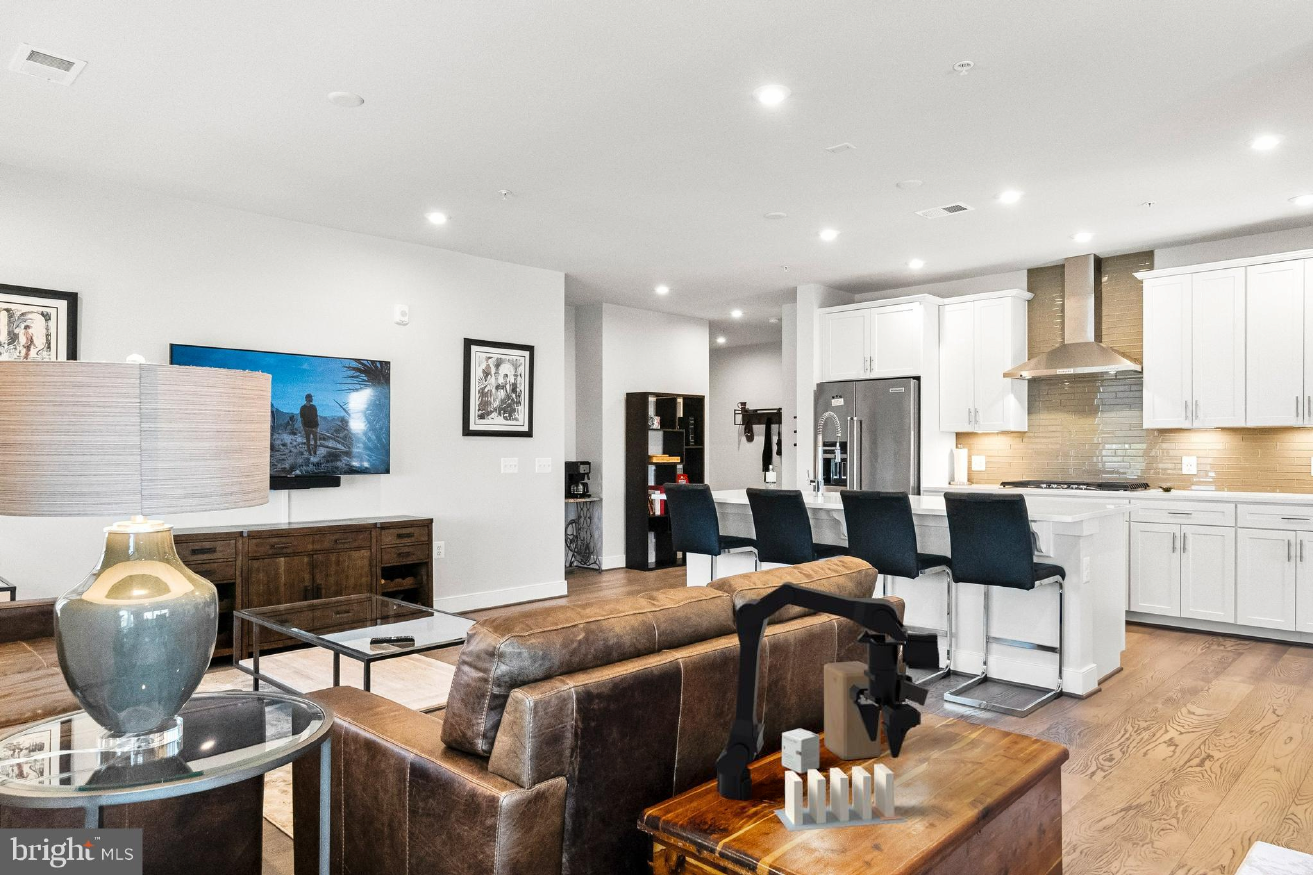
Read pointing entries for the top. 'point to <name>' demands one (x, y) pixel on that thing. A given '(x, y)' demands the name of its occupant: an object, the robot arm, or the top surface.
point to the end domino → (884, 790)
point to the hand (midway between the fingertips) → (883, 749)
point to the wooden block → (846, 713)
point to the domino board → (835, 822)
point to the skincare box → (800, 750)
